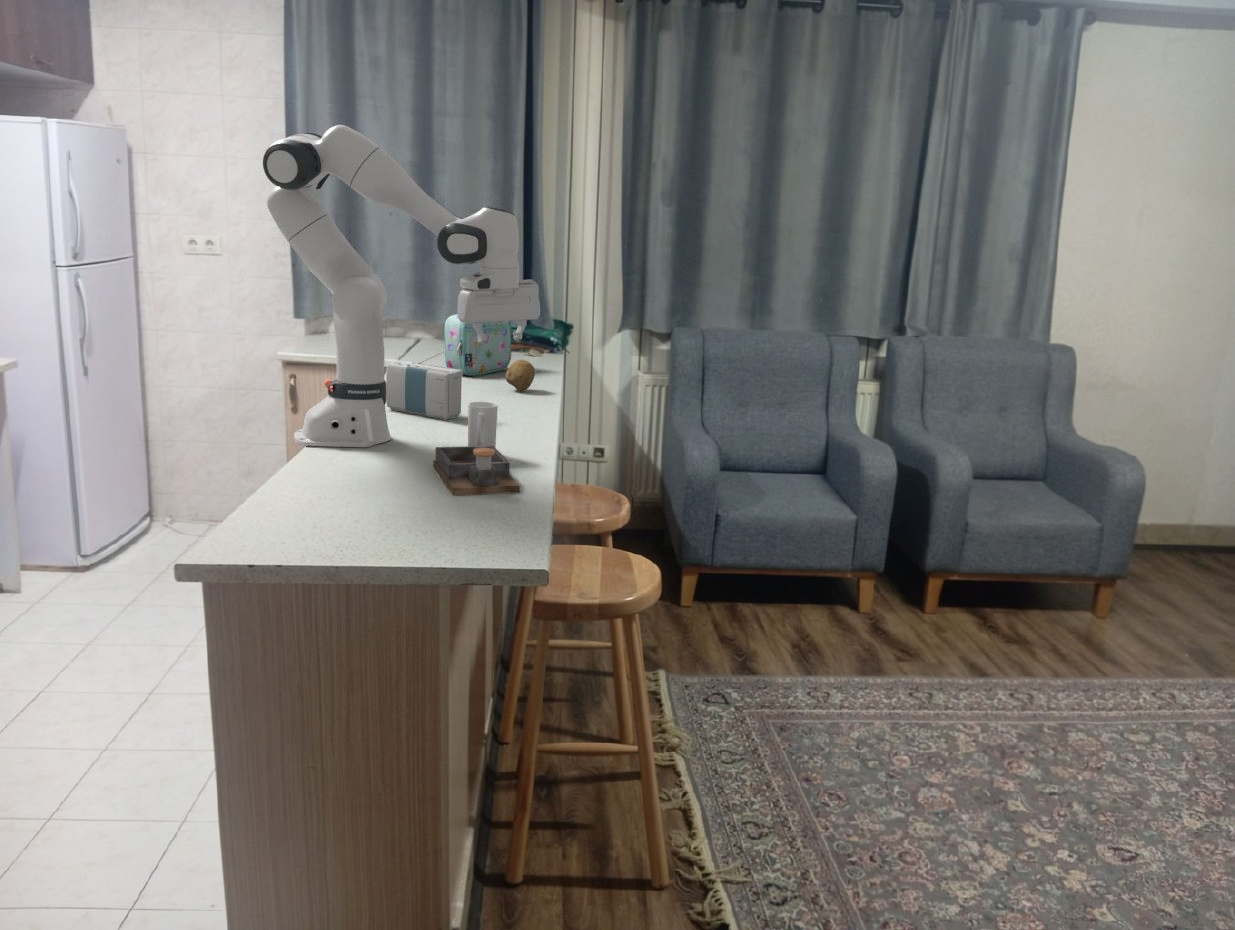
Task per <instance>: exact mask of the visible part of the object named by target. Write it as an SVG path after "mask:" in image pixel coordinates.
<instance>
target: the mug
mask: <svg viewBox="0 0 1235 930" xmlns="http://www.w3.org/2000/svg"><path fill="white" fill-rule="evenodd" d="M497 425H498V403H495V402H490V401H474V402H473V401H472V402H469V403H468V405H467V446H494V447H495V448H496V445H497V444H496V443H497V441H496V440H497V427H498V426H497Z"/></svg>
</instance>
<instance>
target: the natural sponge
mask: <svg viewBox="0 0 1235 930" xmlns="http://www.w3.org/2000/svg"><path fill="white" fill-rule="evenodd" d="M535 376H536V370H535V367H534V365H532V363H531V362H530V361H528V360H525V359H517V360H515V361H514V362H512V363H511V364H509V367H508V369H507V371H506V373H505V381H506V382H507V384H509V385H510V386H513V387H514V388H515V389H516V390H517V391H519V392H525V391H527V390H528V389H529V388H530V386H531V385H532V384H533V382H534V379H535Z"/></svg>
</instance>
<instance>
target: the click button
mask: <svg viewBox="0 0 1235 930" xmlns="http://www.w3.org/2000/svg"><path fill="white" fill-rule="evenodd" d="M473 455H475V456H476V469H477V470H491V458H492V456H494V455H495V450H494V449H491V448H476V449H473Z"/></svg>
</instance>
